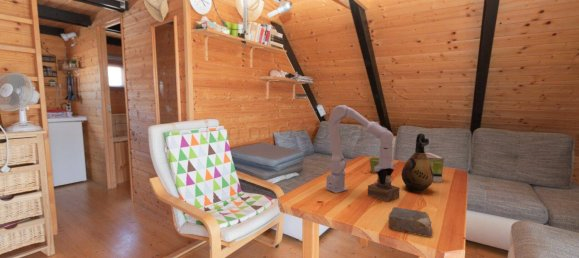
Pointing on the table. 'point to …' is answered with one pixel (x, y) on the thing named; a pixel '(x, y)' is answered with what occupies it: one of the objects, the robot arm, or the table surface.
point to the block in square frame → (383, 192)
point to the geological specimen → (410, 221)
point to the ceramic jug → (418, 168)
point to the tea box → (436, 166)
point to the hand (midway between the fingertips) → (383, 183)
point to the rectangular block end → (387, 182)
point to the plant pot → (373, 163)
